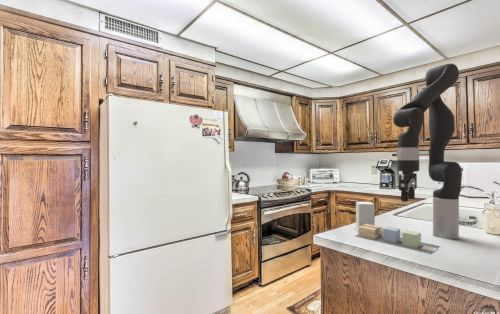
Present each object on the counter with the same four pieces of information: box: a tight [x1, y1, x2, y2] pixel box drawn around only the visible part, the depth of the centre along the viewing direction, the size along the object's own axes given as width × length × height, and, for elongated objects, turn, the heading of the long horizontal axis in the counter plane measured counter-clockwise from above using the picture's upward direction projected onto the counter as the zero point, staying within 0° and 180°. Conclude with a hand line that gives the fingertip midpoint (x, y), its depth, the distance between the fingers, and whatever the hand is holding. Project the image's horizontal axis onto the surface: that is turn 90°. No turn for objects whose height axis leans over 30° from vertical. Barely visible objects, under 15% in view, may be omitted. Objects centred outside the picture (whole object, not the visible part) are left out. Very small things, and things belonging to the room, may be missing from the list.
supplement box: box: [355, 201, 376, 230], centre depth 131 cm, size 7×7×13 cm
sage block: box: [401, 229, 422, 248], centre depth 105 cm, size 5×5×5 cm
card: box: [422, 246, 438, 253], centre depth 101 cm, size 4×4×1 cm
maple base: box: [358, 224, 382, 239], centre depth 118 cm, size 7×7×4 cm
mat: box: [354, 233, 441, 255], centre depth 111 cm, size 12×29×1 cm, turn 42°
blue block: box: [382, 225, 401, 243], centre depth 111 cm, size 5×5×5 cm
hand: (408, 200), depth 105 cm, fingers open, 8 cm apart
